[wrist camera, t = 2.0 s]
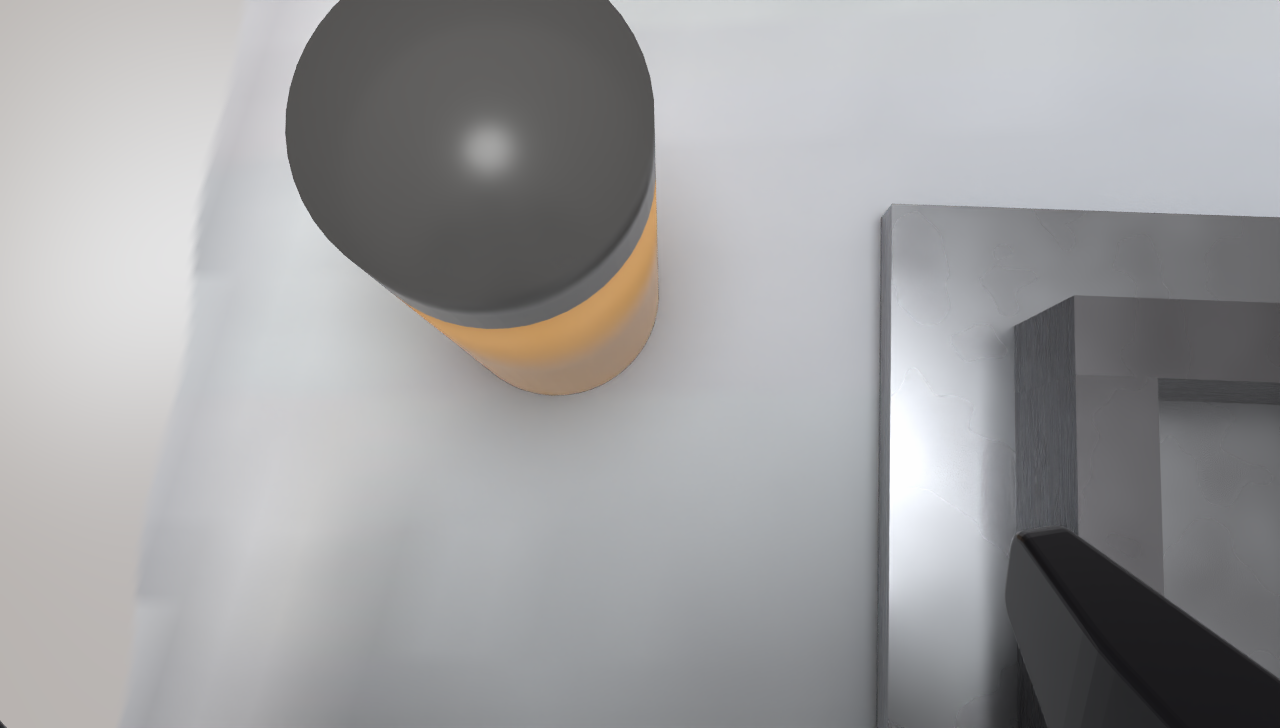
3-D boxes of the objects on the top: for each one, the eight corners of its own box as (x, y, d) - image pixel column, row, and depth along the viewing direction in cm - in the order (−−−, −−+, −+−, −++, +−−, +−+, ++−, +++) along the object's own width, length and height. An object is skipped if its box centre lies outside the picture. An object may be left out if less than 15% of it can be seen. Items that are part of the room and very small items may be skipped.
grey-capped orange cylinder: (654, 399, 21) (646, 304, 11) (450, 391, 21) (268, 290, 12) (662, 201, 22) (662, -51, 12) (464, 194, 22) (302, -61, 12)
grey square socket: (1598, 939, 19) (1837, 1049, 15) (875, 899, 20) (928, 996, 16) (1536, 241, 21) (1735, 180, 17) (881, 217, 22) (930, 153, 18)
